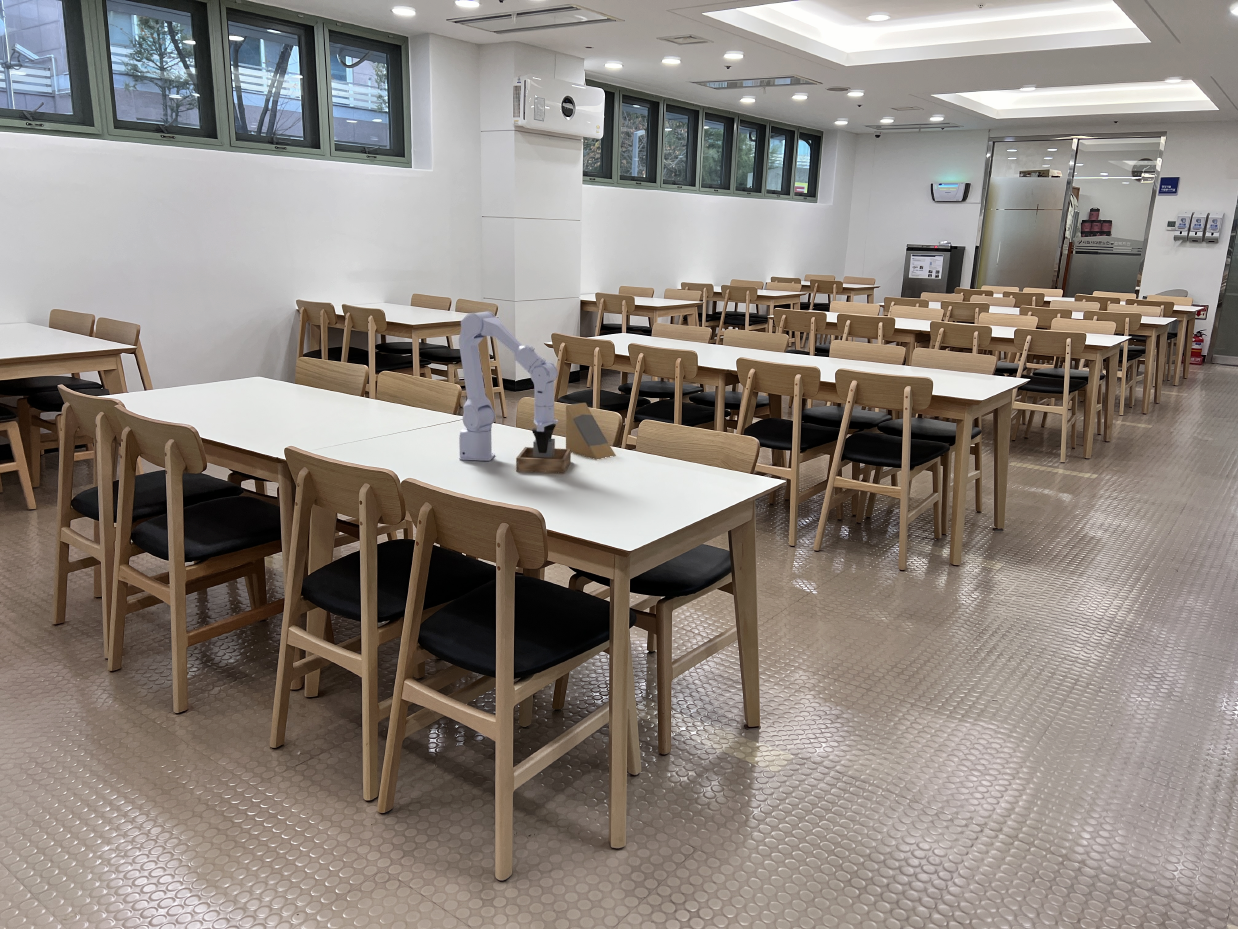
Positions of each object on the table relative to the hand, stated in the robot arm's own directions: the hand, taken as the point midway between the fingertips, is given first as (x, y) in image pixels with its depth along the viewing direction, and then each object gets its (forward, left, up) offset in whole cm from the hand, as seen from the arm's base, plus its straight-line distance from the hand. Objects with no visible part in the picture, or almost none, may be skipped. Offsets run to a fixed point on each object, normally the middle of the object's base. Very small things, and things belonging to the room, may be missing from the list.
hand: (544, 450), depth 257 cm
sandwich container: (+12, +19, -5) cm, 23 cm away
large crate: (0, 0, -5) cm, 5 cm away
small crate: (0, 0, -1) cm, 1 cm away
